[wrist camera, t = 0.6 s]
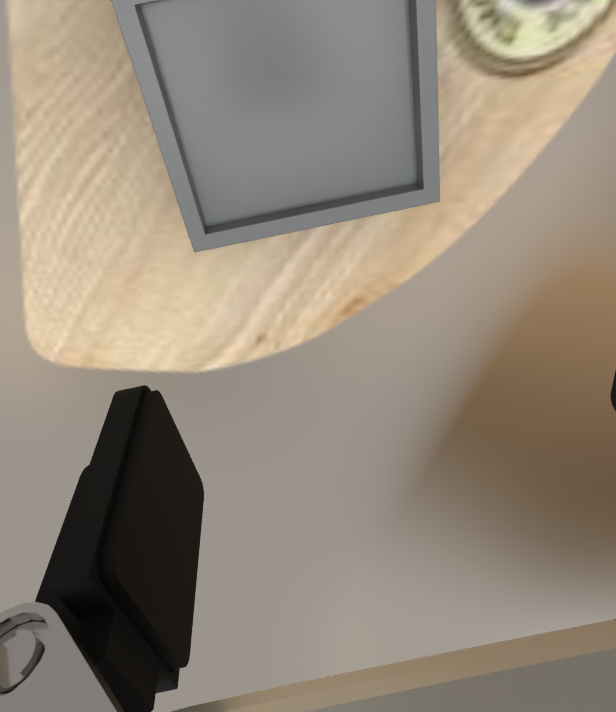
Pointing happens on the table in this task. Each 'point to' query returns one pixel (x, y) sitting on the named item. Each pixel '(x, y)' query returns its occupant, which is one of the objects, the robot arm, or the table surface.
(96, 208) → the table surface
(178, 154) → the tray
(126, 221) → the table surface
